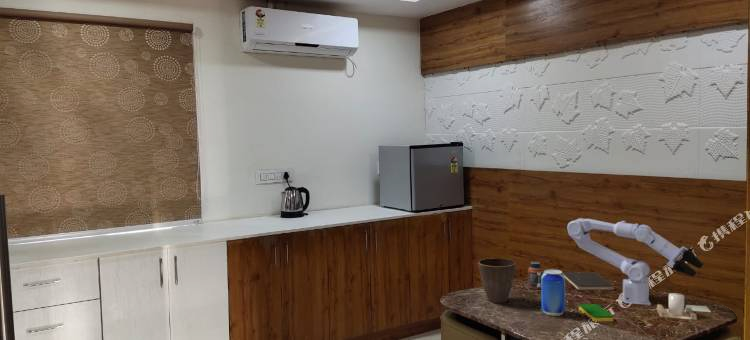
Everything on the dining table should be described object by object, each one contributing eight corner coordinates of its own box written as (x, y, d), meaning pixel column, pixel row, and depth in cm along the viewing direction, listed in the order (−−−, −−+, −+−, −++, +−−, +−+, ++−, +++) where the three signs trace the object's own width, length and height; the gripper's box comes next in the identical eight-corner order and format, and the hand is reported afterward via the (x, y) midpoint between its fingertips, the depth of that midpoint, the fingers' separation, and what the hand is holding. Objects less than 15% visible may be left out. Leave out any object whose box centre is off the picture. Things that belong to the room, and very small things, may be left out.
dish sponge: (596, 310, 205) (596, 303, 205) (613, 322, 191) (613, 315, 191) (578, 310, 205) (578, 304, 205) (594, 322, 191) (594, 316, 191)
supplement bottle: (543, 290, 231) (543, 264, 231) (529, 289, 232) (528, 264, 232) (541, 286, 237) (541, 261, 236) (527, 285, 238) (527, 260, 238)
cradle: (660, 317, 193) (660, 312, 193) (655, 309, 203) (655, 304, 203) (697, 321, 189) (698, 315, 189) (691, 312, 199) (691, 307, 199)
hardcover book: (577, 291, 231) (577, 285, 230) (562, 277, 253) (562, 272, 253) (615, 291, 229) (615, 285, 229) (596, 277, 252) (596, 272, 252)
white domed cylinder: (669, 315, 194) (670, 296, 194) (666, 309, 201) (666, 291, 200) (685, 316, 193) (685, 297, 192) (681, 310, 199) (681, 292, 198)
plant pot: (475, 304, 214) (475, 264, 213) (482, 293, 227) (482, 257, 227) (513, 307, 208) (513, 267, 207) (518, 297, 222) (517, 259, 221)
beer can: (564, 310, 204) (564, 269, 203) (565, 317, 196) (565, 275, 195) (541, 308, 206) (541, 268, 205) (541, 315, 198) (541, 273, 197)
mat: (689, 311, 199) (689, 310, 199) (685, 306, 206) (685, 304, 206) (711, 313, 197) (711, 312, 197) (706, 307, 204) (706, 306, 204)
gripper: (662, 247, 198) (697, 271, 191) (676, 233, 207) (710, 255, 200) (652, 260, 202) (686, 284, 195) (667, 246, 211) (700, 268, 204)
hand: (698, 270), depth 198 cm, fingers open, 7 cm apart
